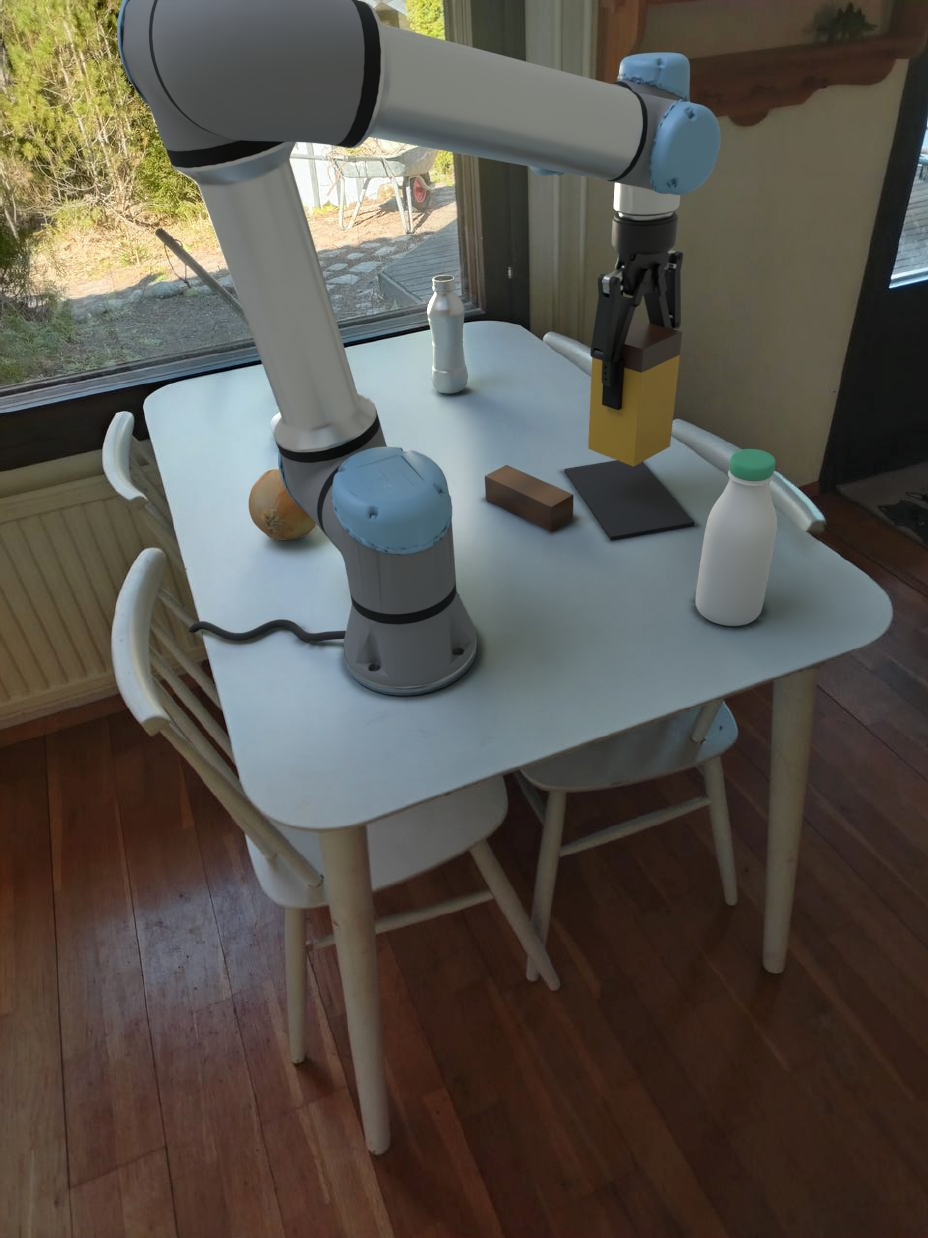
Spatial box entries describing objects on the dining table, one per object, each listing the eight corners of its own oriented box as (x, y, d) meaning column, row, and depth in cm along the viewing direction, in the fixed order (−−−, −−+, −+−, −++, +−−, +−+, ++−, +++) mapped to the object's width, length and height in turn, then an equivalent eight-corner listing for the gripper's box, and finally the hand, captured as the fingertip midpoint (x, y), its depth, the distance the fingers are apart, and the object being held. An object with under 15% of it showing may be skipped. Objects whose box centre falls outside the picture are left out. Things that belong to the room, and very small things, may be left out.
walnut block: (485, 500, 125) (484, 475, 122) (507, 488, 127) (506, 464, 125) (551, 532, 117) (551, 507, 115) (573, 519, 119) (573, 494, 117)
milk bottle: (763, 630, 98) (795, 476, 86) (694, 625, 100) (716, 473, 87) (759, 591, 104) (788, 441, 92) (694, 586, 105) (714, 439, 93)
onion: (251, 556, 116) (234, 492, 110) (262, 518, 124) (247, 457, 118) (321, 552, 116) (309, 488, 110) (328, 514, 124) (317, 452, 118)
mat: (610, 540, 115) (610, 536, 114) (564, 472, 130) (564, 468, 130) (694, 525, 116) (694, 522, 116) (638, 459, 132) (638, 456, 131)
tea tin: (624, 429, 123) (670, 446, 118) (587, 448, 119) (633, 466, 114) (632, 317, 113) (682, 331, 108) (592, 334, 109) (643, 349, 104)
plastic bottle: (428, 386, 158) (419, 275, 146) (463, 380, 160) (456, 270, 147) (437, 400, 153) (428, 286, 141) (473, 393, 155) (467, 280, 142)
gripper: (673, 189, 107) (658, 364, 121) (561, 226, 96) (559, 414, 111) (724, 197, 103) (702, 378, 117) (613, 237, 92) (604, 430, 106)
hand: (632, 395), depth 114 cm, fingers closed on tea tin, 8 cm apart
